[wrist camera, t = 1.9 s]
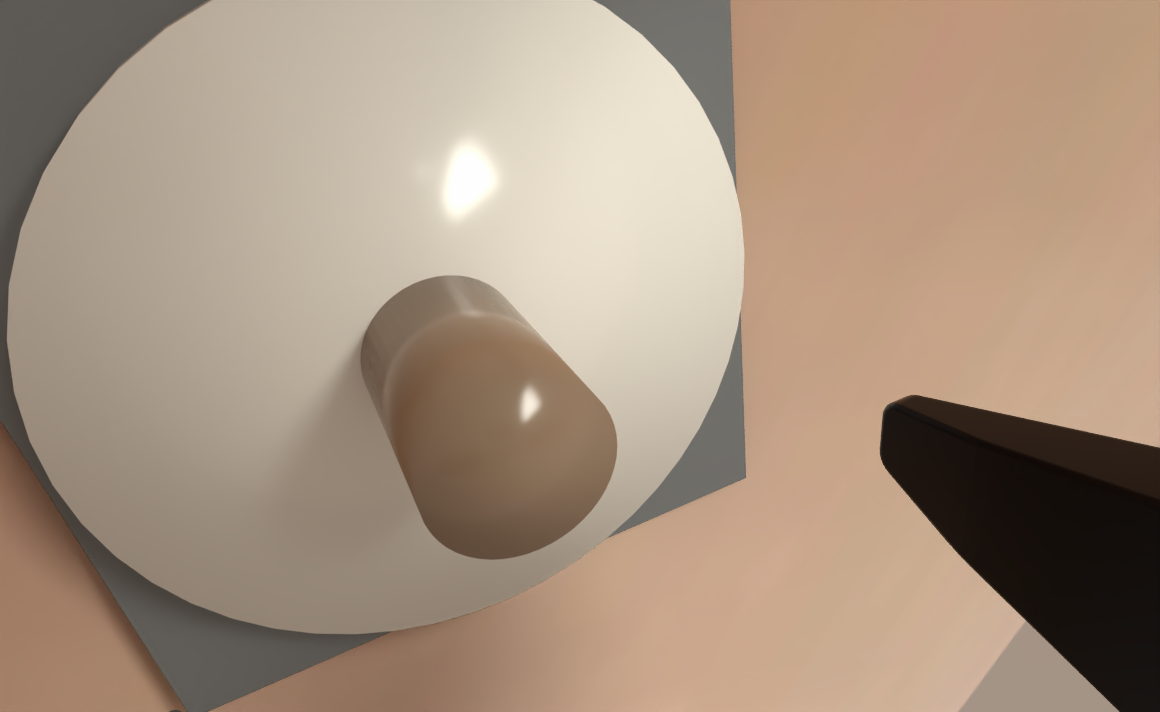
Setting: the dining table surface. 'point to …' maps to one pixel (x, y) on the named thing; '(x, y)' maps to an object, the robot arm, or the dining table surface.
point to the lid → (374, 302)
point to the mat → (4, 194)
